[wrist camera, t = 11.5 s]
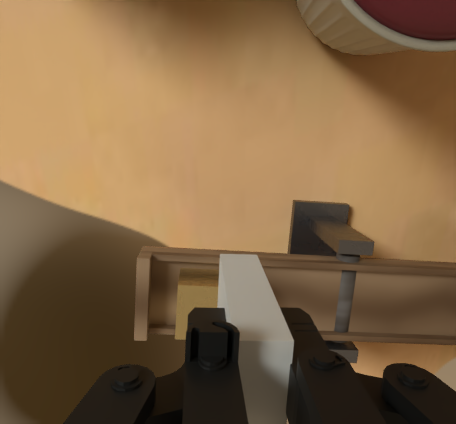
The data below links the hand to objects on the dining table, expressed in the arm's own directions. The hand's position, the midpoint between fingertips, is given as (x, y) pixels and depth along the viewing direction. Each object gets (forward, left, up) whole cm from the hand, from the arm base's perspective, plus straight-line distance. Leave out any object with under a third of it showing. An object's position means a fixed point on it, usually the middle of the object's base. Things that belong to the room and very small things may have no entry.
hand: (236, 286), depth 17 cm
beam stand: (+8, +12, -28) cm, 32 cm away
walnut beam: (+8, +12, -18) cm, 23 cm away
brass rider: (+8, 0, -18) cm, 19 cm away
